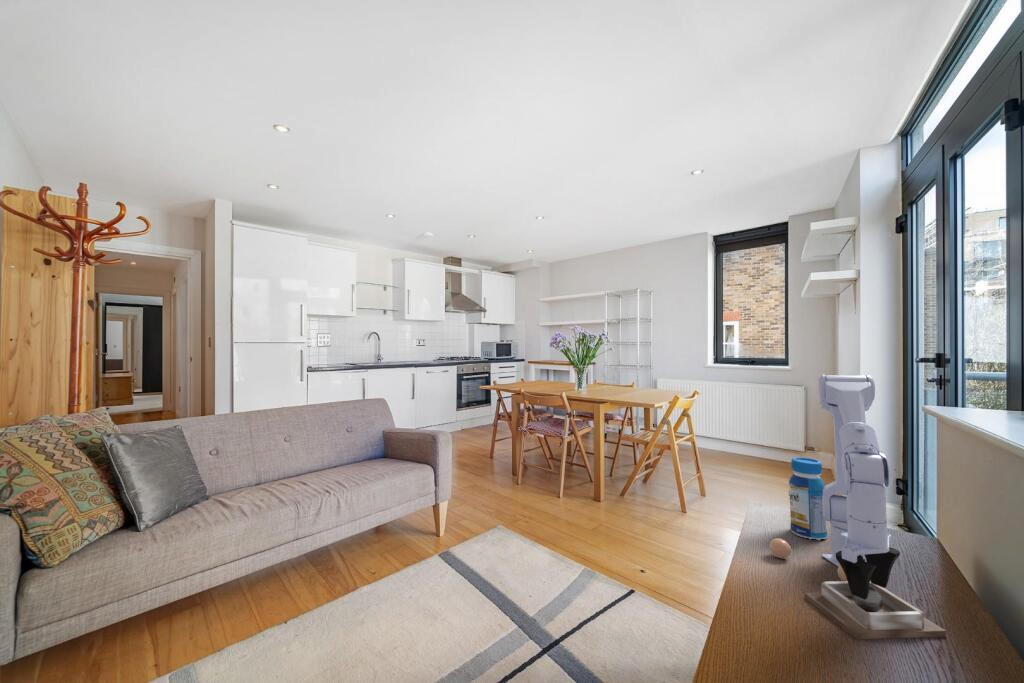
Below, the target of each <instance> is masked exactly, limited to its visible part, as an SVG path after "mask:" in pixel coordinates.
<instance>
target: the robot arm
mask: <svg viewBox="0 0 1024 683" xmlns="http://www.w3.org/2000/svg"><path fill="white" fill-rule="evenodd" d="M818 396H819V405H820V407H821V409H822V410H826V411H828V412H829V414H830V415H831V418H832V421H833V422H832V424H833V425H832V426H833V442H834V443H833V444H834V458H835V459H834V460H835V477H836V478H835V480H834V481H832V482H830V483H828V484H825V487H824V489H823V496H822V506H823V516H824V518H825V519H826V522H829V523H830V545H831V546H830V547H831V549H830V550H831V553H825V554H824V553H823V554H821V556H822V558H824V559H826V561H828V562H830V563H831V564H834V565H835V566H837V568H838V567H839V566H840V565H841V567H842V569H843V571H844V573H845V575H846V578H847V581H848V584H849V587H850V590H851V593H852V595H855V596H857V597H859V598H862V599H864V600H865V599H867V596H868V592H869V583H870V582H871V583H873V584H875V585H878V586H880V587H883V588H885V589H887V586H888V583H889V579H890V575H891V572H892V569H893V566H894V564H895V562H896V561H897V559H898V558H899V557H900V555H901V552H900V550H898V549H896V548H894V547H893V548H892V547H891V546H892V545H893V539H892V534H889V533H888V520H887V516H888V514H887V491H886V490H887V489H886V488H888V487H889V486H890V482H891V471H890V466H889V462H888V458H887V457H886V455H885V453H884V451H883V450H880V446H879V441H878V437H877V434H876V431H875V429H874V428H873V427H872V426H871V425H869V424H867V422H866V419H867V418H866V412H867V411H869V410H870V408H871V407H872V404H873V402H874V401H875V398H876V385H875V380H874V377H872V376H871V375H869V374H866V375H847V374H846V375H841V374H840V375H839V374H838V375H836V374H835V375H833V374H832V375H831V374H830V375H829V374H827V375H826V374H820V375H819V377H818Z"/></svg>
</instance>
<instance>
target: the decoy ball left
mask: <svg viewBox="0 0 1024 683" xmlns="http://www.w3.org/2000/svg"><path fill="white" fill-rule="evenodd" d="M837 576H838V577H839V579H840V581H847V578H846V575H845V573H844V571H843V569H842V567H841V565H840V566H839V567H838V566H837Z"/></svg>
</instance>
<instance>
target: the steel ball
mask: <svg viewBox="0 0 1024 683" xmlns="http://www.w3.org/2000/svg"><path fill="white" fill-rule="evenodd" d="M852 597H853V600H854V602H855V603H856V604H857V606H859V607H860V608H862V609H863V610H865V611H867V612H878V611H880V610H881V609H882V606H883V600H882V598H881V596H880V594H879V593H878V592H877V591H876V590H875V589H873V588H872V587H869V592H868V596H867V599H865V600H864V599H862V598H859V597H857V596H855V595H852Z"/></svg>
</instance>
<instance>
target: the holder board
mask: <svg viewBox="0 0 1024 683" xmlns="http://www.w3.org/2000/svg"><path fill="white" fill-rule="evenodd" d="M820 583H821V591H814V592H811V591H810V592H804V599H806V600H807V601H808V602H809V603H811V604H812V605H813V606H814V607H816V608H817V609H818V610H819V611H820V612H821V613H823V614H824V615H825V616H827V617H828V618H829V619H830V620H832V621H833V622H834V623H835V624H837V626H839V627H840V628H841V629H842V630H843V631H845V632H847V633H848V635H850V636H851V637H853V638H854V639H855V640H867V639H906V638H907V639H909V638H910V639H911V638H912V639H913V638H942V637H943V638H944V637H945V638H946V637H947V630H945V629H944V628H943V627H941V626H939V625H937V624H936V623H934V622H933V621H932V620H929V619H928V618H927V617H924V616H925V614H924V613H925V612H924V611H922V610H920V609H919V608H917V607H915V606H913V605H912V604H910V603H909V602H908V601H906V600H904V599H902V598H901V597H899V596H897V595H896V594H895V593H893V592H891V591H889V590H888V589H887V588H883V587H880V586H878V585H875V584H873V583H871V581H870V583H869V587H872V588H873V589H875V590H876V591H877V592H878V593H879V594H880V596H881V598H882V600H883V606H882V609H881V610H880V611H878V612H867V611H865V610H863V609H862V608H860V607H859V606H857V604H856V603H855V602H854V600H853V597H852V593H851V590H850V587H849V584H848V581H842V580H837V581H836V580H835V581H833V580H831V581H830V580H829V581H823V582H820Z"/></svg>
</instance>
